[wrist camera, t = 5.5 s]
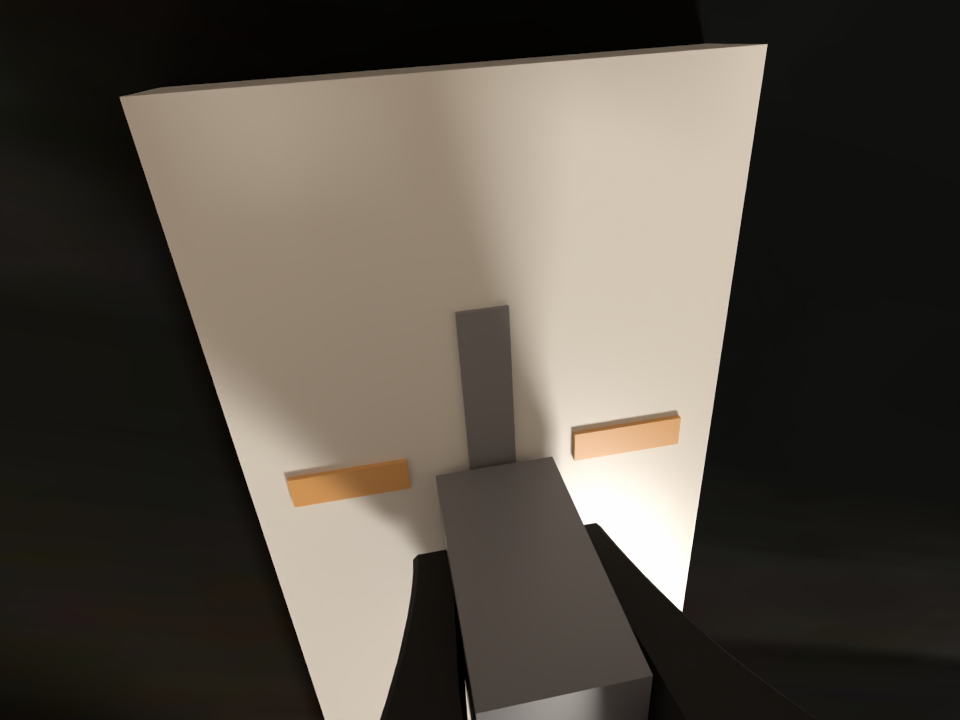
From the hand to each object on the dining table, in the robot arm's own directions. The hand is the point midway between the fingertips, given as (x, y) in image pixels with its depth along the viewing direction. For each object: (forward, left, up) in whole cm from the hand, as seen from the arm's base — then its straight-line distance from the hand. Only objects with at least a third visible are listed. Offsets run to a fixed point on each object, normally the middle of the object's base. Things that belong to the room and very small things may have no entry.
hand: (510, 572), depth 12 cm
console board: (0, -2, -3) cm, 4 cm away
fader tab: (0, 0, -1) cm, 1 cm away
